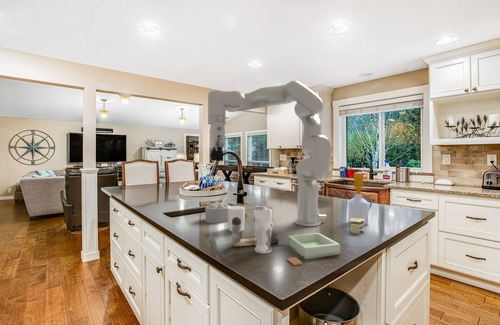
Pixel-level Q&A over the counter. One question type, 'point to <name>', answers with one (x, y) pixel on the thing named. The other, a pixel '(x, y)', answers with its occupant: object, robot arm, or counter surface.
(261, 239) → the beer glass
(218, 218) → the grey bumpy block
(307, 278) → the counter surface
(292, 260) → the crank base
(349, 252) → the counter surface
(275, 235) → the crank lever
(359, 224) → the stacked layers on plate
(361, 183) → the soap bottle
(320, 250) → the tray
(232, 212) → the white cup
